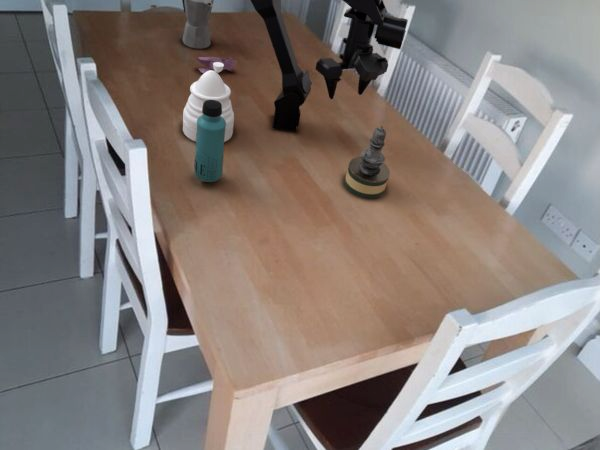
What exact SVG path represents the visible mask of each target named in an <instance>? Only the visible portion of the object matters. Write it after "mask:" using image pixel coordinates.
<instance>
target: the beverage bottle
mask: <svg viewBox="0 0 600 450" xmlns="http://www.w3.org/2000/svg"><path fill="white" fill-rule="evenodd" d="M202 113H203V115H201V116H200V117H199V118H198V119H197V135H196V141H194V142H195V155H194V164H193V165H194V174H195V177H196V178H197V179H198V180H200V181H203V182H207V183H212V182H216V181H218V180H220V179H221V177H222V176H223V173H224V172H223V170H224V168H223V167H224V154H225V142H224V138H225V126H226V121H225V120H224V118H222V117H221V116H220V115H221V114H222V105H221V103H220V102H219V101H216V100H207V101H205V102H204V103H203V108H202Z"/></svg>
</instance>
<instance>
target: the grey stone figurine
mask: <svg viewBox="0 0 600 450" xmlns="http://www.w3.org/2000/svg"><path fill="white" fill-rule="evenodd" d="M386 136H387V131H386V130H385V128H384V126H383V125H380V127H376V128H375V129H374V130H373V133H372V136H371V138H370V139H369V142H368V143H369V146H368V148H367V149H363V150H362V151H361V152H360V157H361V159H362V163H360V164H359V169H360V170H361V171H362V172H363V173H365V174H369V175H376V174H378V173H379V172H380V168H379V166H381V164H382V163H384V162H385V161H386V157H385V155H384V154H383V153H382V150H383V147H384V146H385V139H386Z"/></svg>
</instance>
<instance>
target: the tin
mask: <svg viewBox="0 0 600 450" xmlns="http://www.w3.org/2000/svg"><path fill="white" fill-rule="evenodd" d="M360 163H362V159H361V156H357V157H354V158H352V159H351V160H350V161H349V163H348V167H347V170H346V174H345V177H344V178H345V179H344V185H345V187H346V189H347V190H348V191H349V192H350V193H351V194H353V195H355V196H357V197H360V198H364V199H376V198H379V197H381V196H382V195H383V194H384V193H385V190H386V186H387V185H388V181H389V178H390V176H391V170H390V168H389V167H388V166H387V164H385V163H384V162H383V163H382V164H381V166H379V168H380V172H379V173H378V174H376V175H369V174H365V173H363V172H362V171H361V170H360V169H359V164H360Z"/></svg>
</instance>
